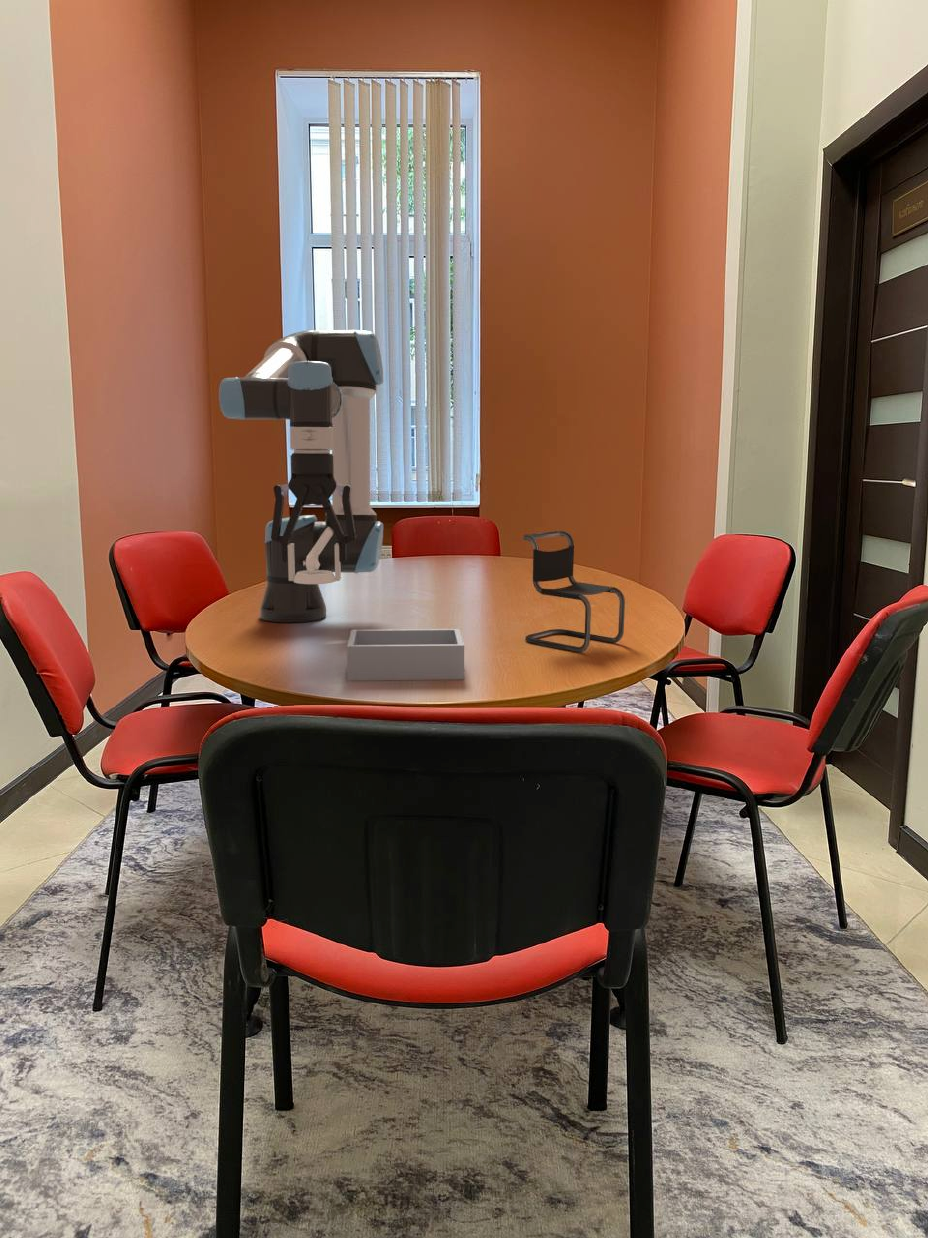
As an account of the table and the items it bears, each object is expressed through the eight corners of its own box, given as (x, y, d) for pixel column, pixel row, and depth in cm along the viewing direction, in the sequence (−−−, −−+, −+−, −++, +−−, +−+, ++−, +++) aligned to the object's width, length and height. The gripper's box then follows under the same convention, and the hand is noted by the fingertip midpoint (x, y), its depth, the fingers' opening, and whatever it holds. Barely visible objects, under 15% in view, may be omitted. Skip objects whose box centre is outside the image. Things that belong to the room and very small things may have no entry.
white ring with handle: (358, 555, 160) (324, 533, 158) (321, 607, 163) (287, 586, 161) (359, 542, 166) (327, 521, 164) (324, 592, 170) (292, 572, 168)
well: (352, 661, 169) (351, 629, 168) (459, 660, 170) (459, 628, 169) (347, 680, 155) (346, 646, 154) (464, 679, 157) (464, 645, 155)
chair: (556, 632, 196) (559, 530, 192) (624, 644, 185) (628, 536, 180) (517, 641, 187) (519, 534, 183) (587, 655, 175) (590, 541, 171)
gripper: (249, 451, 156) (254, 582, 161) (368, 452, 157) (370, 582, 161) (257, 451, 164) (261, 576, 168) (371, 452, 165) (372, 577, 169)
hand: (314, 579), depth 165 cm, fingers closed on white ring with handle, 8 cm apart
